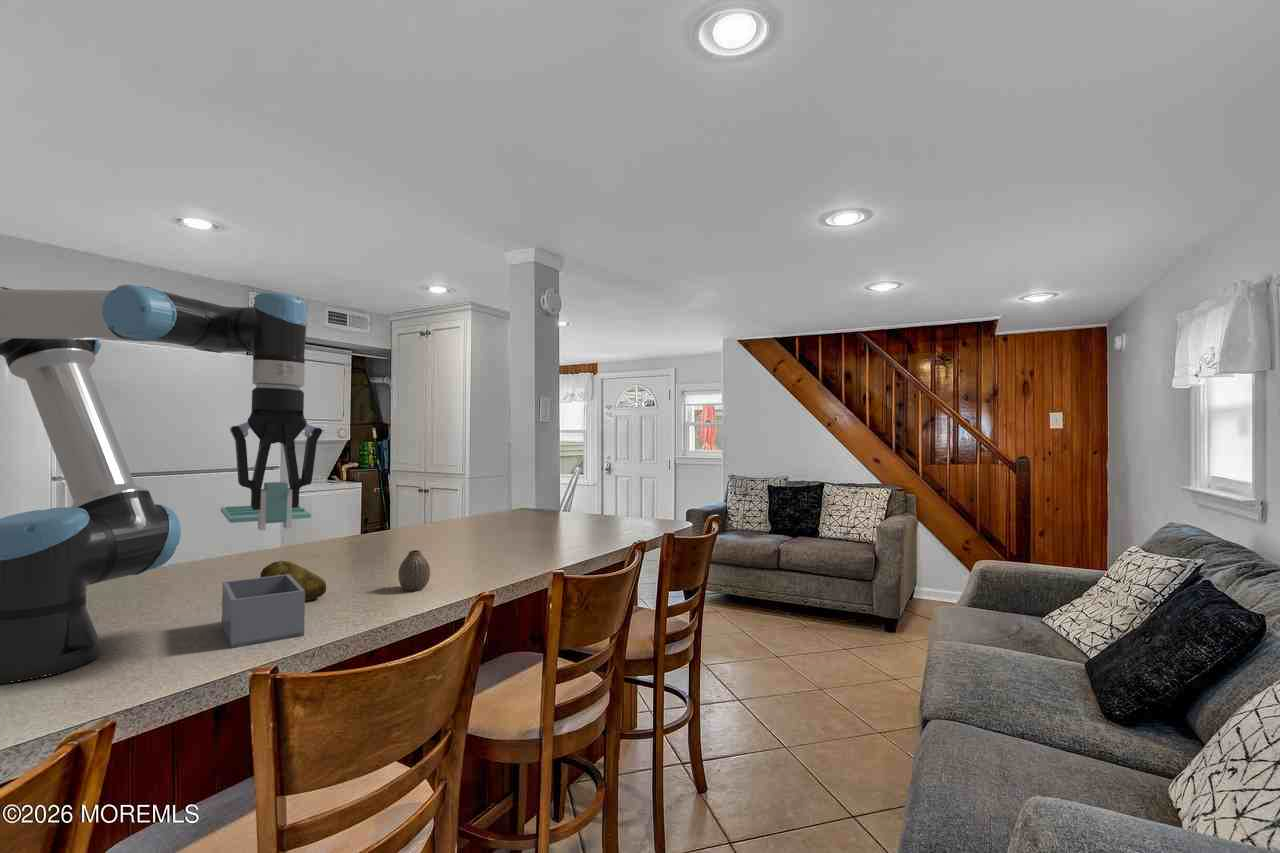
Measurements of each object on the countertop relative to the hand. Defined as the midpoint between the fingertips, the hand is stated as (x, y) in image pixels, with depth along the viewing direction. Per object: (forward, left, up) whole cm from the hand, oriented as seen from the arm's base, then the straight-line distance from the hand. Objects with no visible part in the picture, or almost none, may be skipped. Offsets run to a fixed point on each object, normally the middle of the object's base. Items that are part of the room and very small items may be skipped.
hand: (274, 528), depth 104 cm
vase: (+32, +25, -21) cm, 46 cm away
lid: (0, +8, +1) cm, 8 cm away
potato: (+8, +31, -21) cm, 38 cm away
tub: (0, +12, -20) cm, 24 cm away
